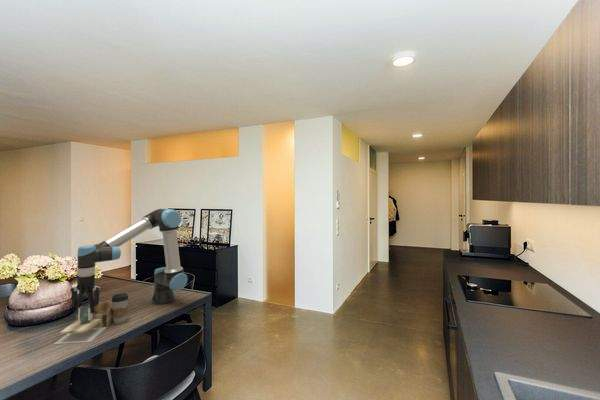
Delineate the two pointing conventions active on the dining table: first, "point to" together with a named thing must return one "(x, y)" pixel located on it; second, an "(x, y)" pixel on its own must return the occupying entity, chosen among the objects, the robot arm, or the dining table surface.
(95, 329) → the mat
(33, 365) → the dining table surface
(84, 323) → the lid
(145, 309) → the dining table surface
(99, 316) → the box
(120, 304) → the coffee cup
